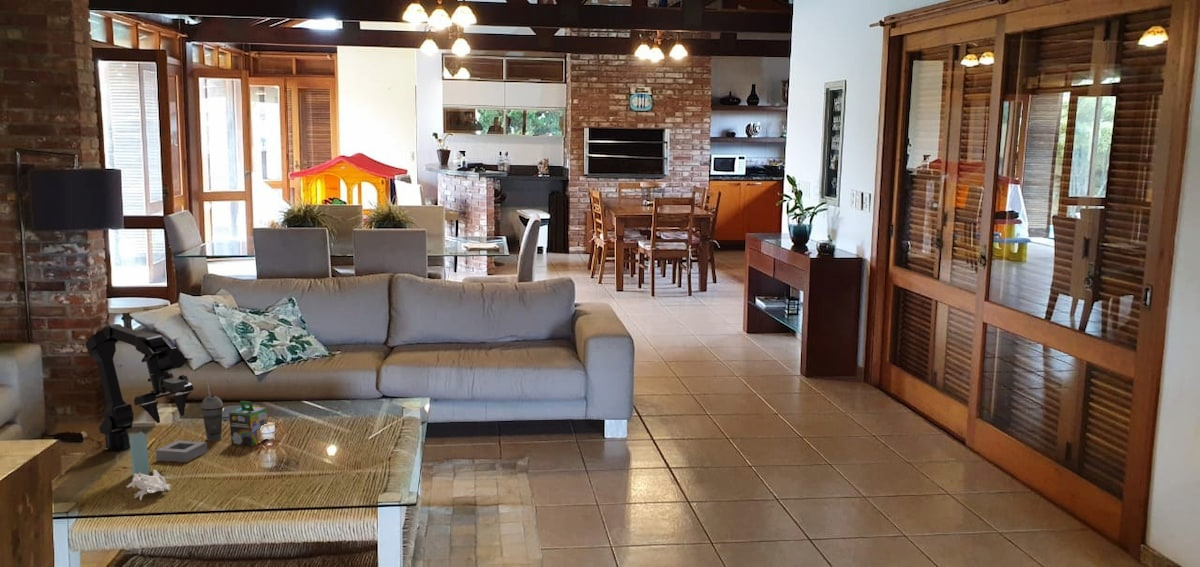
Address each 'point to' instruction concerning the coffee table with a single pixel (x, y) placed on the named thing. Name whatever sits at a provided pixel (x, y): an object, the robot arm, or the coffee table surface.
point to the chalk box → (247, 424)
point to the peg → (139, 453)
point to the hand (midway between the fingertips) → (170, 419)
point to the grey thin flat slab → (232, 408)
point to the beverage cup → (212, 416)
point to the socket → (181, 451)
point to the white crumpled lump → (149, 483)
